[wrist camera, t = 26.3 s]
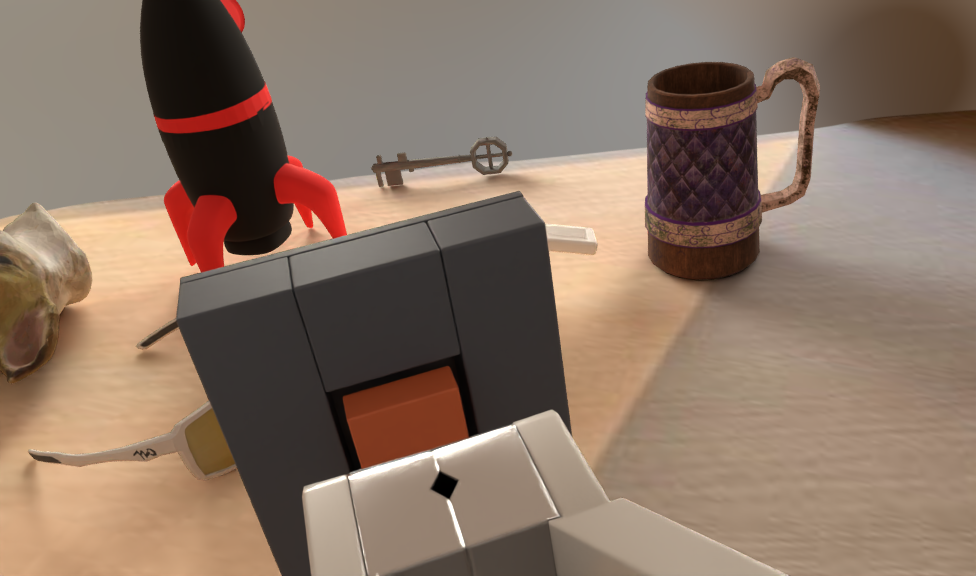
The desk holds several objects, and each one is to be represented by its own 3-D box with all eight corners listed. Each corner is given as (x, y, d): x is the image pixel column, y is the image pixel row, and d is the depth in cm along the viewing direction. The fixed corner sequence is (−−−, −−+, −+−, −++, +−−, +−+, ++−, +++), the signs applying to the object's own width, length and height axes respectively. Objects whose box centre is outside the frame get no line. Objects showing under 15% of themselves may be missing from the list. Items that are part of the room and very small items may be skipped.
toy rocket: (360, 267, 58) (257, -121, 45) (219, 322, 54) (64, -84, 42) (314, 222, 66) (215, -121, 53) (188, 267, 62) (49, -89, 49)
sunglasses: (251, 507, 39) (205, 427, 36) (23, 511, 44) (-30, 441, 42) (364, 334, 50) (334, 265, 48) (172, 354, 56) (136, 292, 53)
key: (514, 170, 69) (509, 132, 67) (514, 175, 68) (508, 137, 66) (377, 184, 71) (368, 148, 69) (374, 189, 70) (366, 153, 68)
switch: (482, 499, 25) (459, 387, 23) (381, 531, 25) (346, 420, 22) (472, 473, 26) (448, 364, 24) (374, 504, 26) (341, 395, 23)
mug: (651, 287, 50) (641, 98, 44) (642, 233, 56) (633, 60, 50) (826, 273, 49) (841, 76, 42) (797, 219, 55) (807, 39, 48)
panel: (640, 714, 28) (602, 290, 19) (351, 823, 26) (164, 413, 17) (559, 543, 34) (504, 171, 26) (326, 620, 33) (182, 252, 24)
